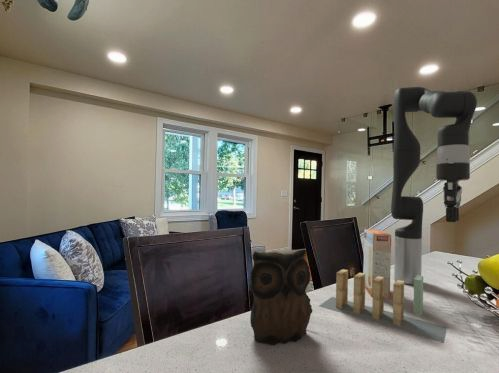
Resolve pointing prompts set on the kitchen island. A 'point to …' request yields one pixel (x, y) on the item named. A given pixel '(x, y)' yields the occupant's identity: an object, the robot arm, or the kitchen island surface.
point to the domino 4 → (398, 302)
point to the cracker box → (377, 259)
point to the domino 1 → (341, 288)
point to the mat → (386, 319)
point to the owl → (280, 296)
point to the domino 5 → (418, 295)
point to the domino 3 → (378, 297)
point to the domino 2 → (359, 293)
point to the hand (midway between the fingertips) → (452, 221)
